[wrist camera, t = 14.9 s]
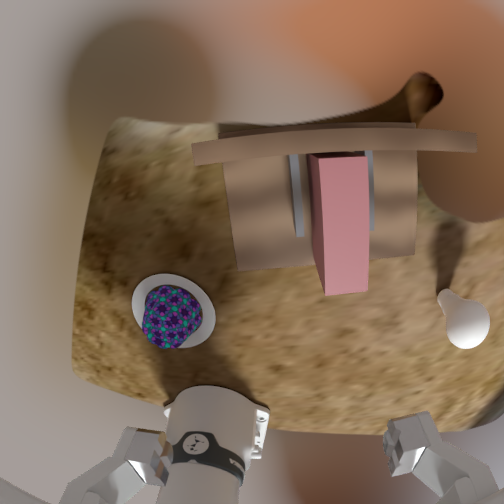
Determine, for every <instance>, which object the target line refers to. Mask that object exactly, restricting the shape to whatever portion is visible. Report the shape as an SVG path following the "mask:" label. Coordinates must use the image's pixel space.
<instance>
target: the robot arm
mask: <svg viewBox="0 0 504 504" xmlns="http://www.w3.org/2000/svg"><path fill="white" fill-rule="evenodd" d="M164 414H165V415H166V417H167V418H168V421H167V425H166V430H165V432H163V431H155V430H147V429H140V428H134V427H126V428H125V429H124V431H123V433H122V436H121V438H120V440H119V442H118V444H117V447H116V449H115V451H114V454H113V456H112V457H108V458H107V459H105V460H104V461H102V462H100V463H99V464H98V465H96V466H94V467H93V468H91V469H90V470H88V471H87V472H85V473H84V474H82V475H81V476H79V477H77V478H76V479H74V480H73V481H71V482H70V483H68V485H67V487H66V489H65V491H64V493H63V496H62V498H61V500H60V502H59V504H125V503H126V502H127V501H129V500H130V499H131V498H132V497H133V496H134V495H135V494H136V493H137V492H138V491H140V490H141V489H142V488H143V487H144V486H145V484H151V485H157V486H161V487H160V490H159V494H158V498H157V502H156V504H238V501H239V500H238V499H239V489H240V487H241V486H242V484H243V481H244V478H245V471H246V470H247V469H249V468H250V460H251V459H253V458H255V459H261V452H262V448H263V444H264V439H265V434H266V429H267V424H268V419H269V414H270V410H269V409H267V408H265V407H263V406H260V405H257V404H254V403H253V402H251V401H250V400H248V399H247V398H246V397H244V396H243V395H241V394H239V393H237V392H235V391H232V390H229V389H226V388H222V387H217V386H195V387H191V388H188V389H185V390H184V391H182V392H181V393H179V394H178V396H177V397H176V399H175V401H174V402H173V403H171V404H169V405H167V406H165V408H164ZM387 427H388V430H387V431H386V432H385V433H384V437H383V447H384V451H385V454H386V455H387V456H389V457H390V460H389V462H388V466H389V469H390V473H391V476H397V475H401V474H406V473H409V472H412V473H413V474H414V475H415V476H416V477H418V478H419V479H420V480H421V481H422V482H423V483H425V484H426V485H427V486H428V487H429V488H431V489H432V490H433V491H434V492H435V493H436V494H438V495H439V496H440V497H441V499H440V500H439V501H438V502H437V503H436V504H504V488H503V489H501V490H499V489H498V486H497V484H496V482H495V479H494V477H493V475H492V473H491V471H490V468H489V466H488V465H486V464H484V463H483V462H481V461H479V460H478V459H476V458H474V457H472V456H471V455H469V454H467V453H465V452H464V451H462V450H461V449H459V448H457V447H456V446H454V445H452V444H451V443H449V442H447V441H444V442H443V441H442V439H441V436H440V434H439V432H438V430H437V428H436V426H435V423H434V421H433V419H432V417H431V415H430V413H429V412H428V411H423V412H419V413H416V414H410V415H406V416H402V417H398V418H394V419H390V420H389V421H388V424H387ZM0 504H50V503H48V502H45V501H43V500H41V499H39V498H37V497H35V496H33V495H31V494H29V493H28V492H26V491H24V490H22V489H20V488H18V487H17V486H15V485H13V484H11V483H10V482H8V481H6V480H4V479H3V478H1V477H0Z"/></svg>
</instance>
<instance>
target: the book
mask: <svg viewBox="0 0 504 504" xmlns="http://www.w3.org/2000/svg"><path fill="white" fill-rule="evenodd" d="M306 159H307V170H308V182H309V195H310V209H311V224H312V241H313V258H314V261H315V264H316V267H317V270H318V274H319V277H320V280H321V283H322V287H323V290H324V293H325V296H326V295H336V294H345V293H354V292H363V291H367V290H368V269H369V180H368V160H367V156H364V155H360V154H356V153H353V152H349V151H340V152H321V153H306Z"/></svg>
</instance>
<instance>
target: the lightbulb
mask: <svg viewBox="0 0 504 504" xmlns="http://www.w3.org/2000/svg"><path fill="white" fill-rule="evenodd" d="M437 301H438V303H439V304H440V306H441V307H442V311H443V313H444V314H445V317H446V332H447V335H448V338H449V339H450V341H451V342H452V343H453V344H454V345H455V346H457V347H459V348H464V349H468V348H473V347H475V346H477V345H478V344H480V343H481V342H482V341H483V340H484V338H485V337H486V335H487V333H488V330H489V326H490V318H489V314H488V312H487V310H486V308H485V307H484V306H483V305H482V304H481V303H480V302H478V301H475V300H469V299H462V298H461V297H460V296H458V295H457V294H454V293H453V292H452V291H451V290H450V289H443V290H442V291H441V292H440V293H439V294H438V297H437Z"/></svg>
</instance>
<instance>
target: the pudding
mask: <svg viewBox="0 0 504 504" xmlns="http://www.w3.org/2000/svg"><path fill="white" fill-rule="evenodd" d="M167 284H170V285H176V286H179V287H182V288H184V289H186V290H187V291H189V292H190V293H191V294H192V295H194V296H195V298H196V299H197V300H198V302H199V303H200V305H201V308H202V312H203V320H202V323H201V319H202V318H201V317H200V315H199V312H200V310H201V308H200V305H199V303H198V302H197V301H196V300H193V299H191V297H190V294H189V293H188V292H187V291H186V290H184V289H181V288H178V289H173V288H172V287H170V286H166V285H167ZM160 285H164V286H161V287H160V288H159V290H158V291H152V292H150V291H151V290H152V289H153V288H155V287H157V286H160ZM149 292H150V293H149ZM148 293H149V295H148ZM147 295H148V297H147V301H146V306H145V299H146V296H147ZM132 310H133V314H134V317H135V319H136V321H137V323H138V324H139V326H140V327H141V328H142V330H143V333H144V334H146V335H147V339H148V340H149V342H151V343H152V344H156V345H157V346H158V347H160V348H162V349H167V348H172V349H174V348H188V347H193V346H196V345H198V344H200V343H202V342H204V341H205V340H206V339H207V338H208V337H209V336H210V335H211V333H212V331H213V329H214V326H215V318H216V316H215V310H214V307H213V305H212V302H211V301H210V299H209V297H208V296H207V295H206V293H205V292H204V291H203V290H202V289H201V288H200V287H199V286H197V285H196V284H195V283H193V282H192V281H190V280H188V279H186V278H184V277H181V276H177V275H173V274H157V275H152V276H150V277H148V278H146V279H144V280H143V281H142V282H140V284H139V285H138V286H137V287H136V289H135V291H134V293H133V297H132ZM200 323H201V325H200ZM199 325H200V327H199V328H198V329H197V330H196V328H197V327H198V326H199ZM195 330H196V331H195ZM194 331H195V332H194ZM193 332H194V333H193Z"/></svg>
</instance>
